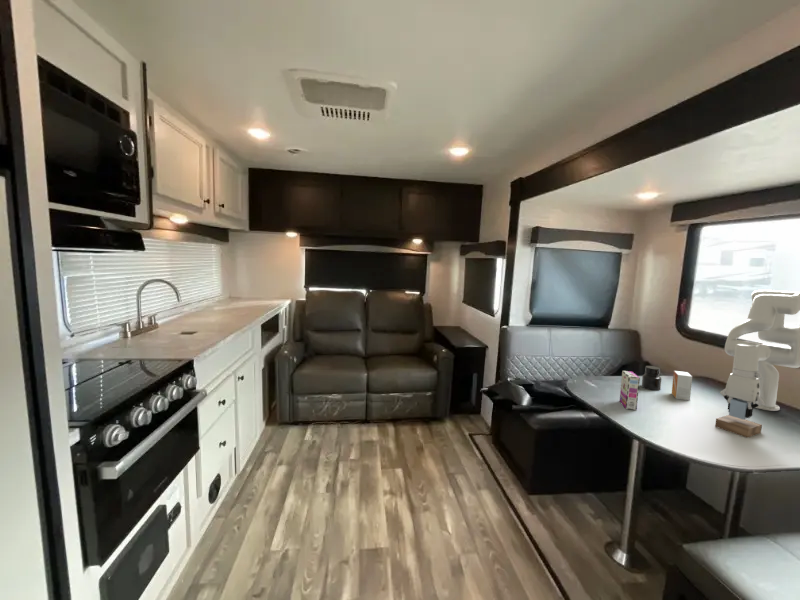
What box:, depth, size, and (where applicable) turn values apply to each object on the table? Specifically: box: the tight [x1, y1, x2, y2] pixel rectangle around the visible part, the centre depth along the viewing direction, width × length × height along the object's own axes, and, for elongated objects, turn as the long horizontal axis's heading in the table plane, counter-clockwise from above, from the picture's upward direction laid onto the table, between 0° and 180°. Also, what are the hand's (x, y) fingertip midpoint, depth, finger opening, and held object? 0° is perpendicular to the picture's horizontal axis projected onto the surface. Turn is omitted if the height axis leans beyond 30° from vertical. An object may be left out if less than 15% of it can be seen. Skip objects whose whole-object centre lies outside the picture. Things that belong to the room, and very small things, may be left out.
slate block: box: [728, 398, 751, 420], centre depth 155 cm, size 5×5×7 cm
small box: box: [671, 370, 693, 401], centre depth 192 cm, size 8×6×13 cm
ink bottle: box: [641, 365, 662, 391], centre depth 206 cm, size 10×9×12 cm
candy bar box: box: [619, 370, 641, 411], centre depth 179 cm, size 11×5×16 cm, turn 163°
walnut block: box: [714, 414, 763, 439], centre depth 156 cm, size 11×11×4 cm
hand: (739, 414), depth 155 cm, fingers closed on slate block, 5 cm apart
